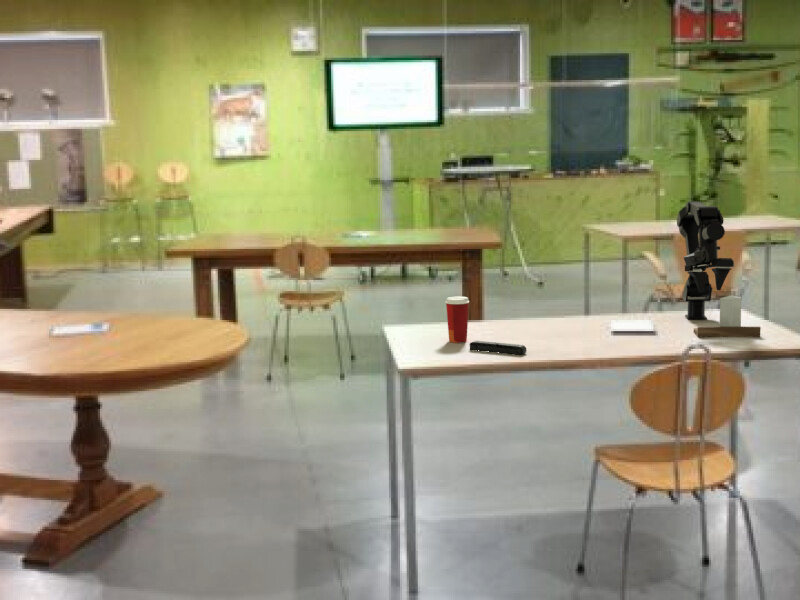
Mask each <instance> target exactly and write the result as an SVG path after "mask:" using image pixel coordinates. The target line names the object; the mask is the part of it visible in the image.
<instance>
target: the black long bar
mask: <svg viewBox="0 0 800 600" xmlns="http://www.w3.org/2000/svg"><path fill="white" fill-rule="evenodd" d="M471 350H477V351H476V352H481V351H489V352H488V353H491V352H499V353H498V354H502V353H507V354H506V355H512V354H515V356H523V355H525V354H526V353H527V347H526V346H525V345H523V344H517V343H516V344H514V343H505V342H497V341H496V342H493V341H484V340H483V341H482V340H474V341H472V342H469V351H471ZM478 350H479V351H478Z"/></svg>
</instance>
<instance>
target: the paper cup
mask: <svg viewBox="0 0 800 600" xmlns="http://www.w3.org/2000/svg"><path fill="white" fill-rule="evenodd" d="M444 303H445V305H446V318H447V319H446V320H447V333H448V340H449V341H450V342H449V341H448V342H449V343H451V342H453V344H460V342H464V343H467V340H468V324H469V303H470V300H469V297H467V296H457V295H455V296H449V297H446V299H445V301H444Z"/></svg>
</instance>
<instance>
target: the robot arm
mask: <svg viewBox="0 0 800 600" xmlns="http://www.w3.org/2000/svg"><path fill="white" fill-rule="evenodd" d="M676 227H677V228H678V231H679V233H680V235H681V236H682V237H683V238H684V242H685V249H686V255H685V256H683V261H684V264H685V265H684V272H686V273H687V275H689V276H688V277H687V279H686V282H685V283H684V288H683V291H682V300H683V301H684V302H687V314H685V315H684V316H685V318H686V319H687V320H708V317H707V316H706V311H705V310H706V309H705V308H706V307H705V306H706V302H711V300H712V292H713V289H714V288H713V286H712V283H710V279H709V278H710V277H709V274H708V271H706V270H707V269H709V268H710V270H711V271H712V272H713V273H714V277H715V280H714V281H715V288H716V291H721V289H722V287H723V285H724V283H725V281H726V278H727V276H728V274H729V273H730V271H732V268H734V267H735V261H734V259H733V258H730V257H729V258H728V257H719V256H718V255H719V254H718V251H719V250H720V251H721V246H719V245H718V241H719V240H722V239H723V238H724V236H725V234H726V233H725V232H726V231H725V227H724V217H723V215H722V213H721V210H720V209H719V208H718V206H717V205H706V204H704V203H703V202H702V201H699V200H695V201H694V200H693V201H691V200H690V201H687V202H686V204H685V206H683V207H682V208H681V209H680V210H679V211H678V214H677V217H676Z"/></svg>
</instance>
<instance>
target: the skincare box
mask: <svg viewBox="0 0 800 600" xmlns="http://www.w3.org/2000/svg"><path fill="white" fill-rule="evenodd" d="M741 322H742V297H741V296H735V295H727V296H723V297H720V298H719V327H742V323H741Z"/></svg>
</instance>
